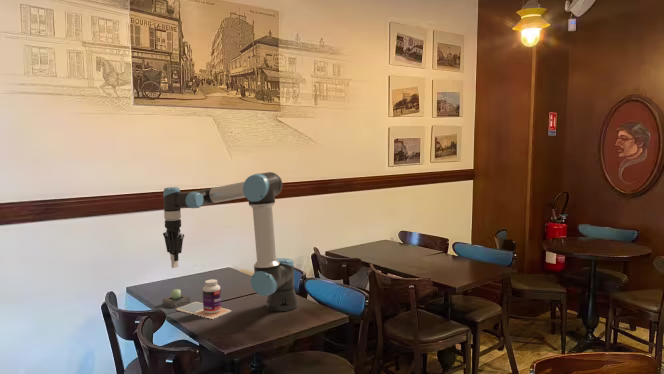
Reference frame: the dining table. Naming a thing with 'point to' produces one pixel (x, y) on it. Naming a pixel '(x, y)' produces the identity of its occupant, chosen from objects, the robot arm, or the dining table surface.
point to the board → (201, 310)
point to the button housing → (176, 301)
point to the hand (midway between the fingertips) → (174, 267)
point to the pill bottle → (211, 297)
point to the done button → (176, 294)
